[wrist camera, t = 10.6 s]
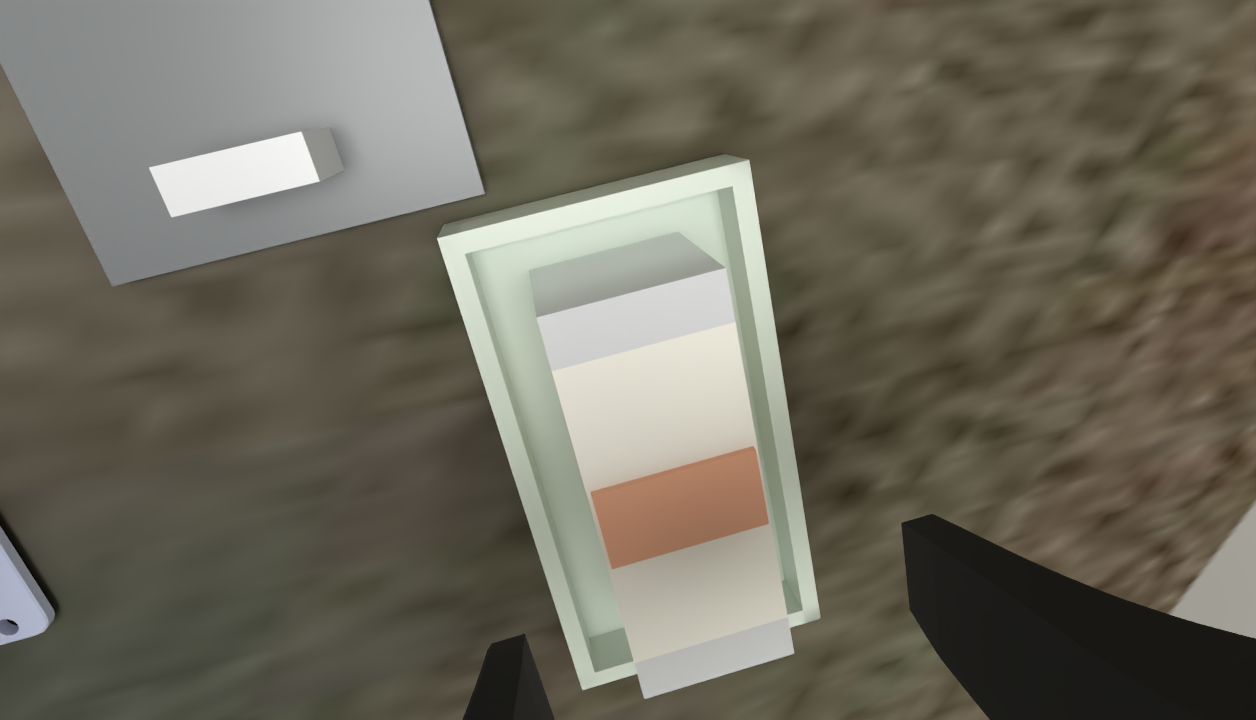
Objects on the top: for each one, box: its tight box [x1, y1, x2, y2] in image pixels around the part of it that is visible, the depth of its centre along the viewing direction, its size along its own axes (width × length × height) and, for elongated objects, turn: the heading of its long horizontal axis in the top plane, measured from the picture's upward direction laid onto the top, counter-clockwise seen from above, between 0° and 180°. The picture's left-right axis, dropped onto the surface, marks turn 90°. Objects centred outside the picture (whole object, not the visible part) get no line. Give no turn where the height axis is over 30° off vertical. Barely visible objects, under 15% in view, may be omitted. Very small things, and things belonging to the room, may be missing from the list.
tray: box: [437, 154, 821, 690], centre depth 20 cm, size 8×14×2 cm, turn 13°
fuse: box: [529, 232, 794, 699], centre depth 19 cm, size 4×10×5 cm, turn 13°
